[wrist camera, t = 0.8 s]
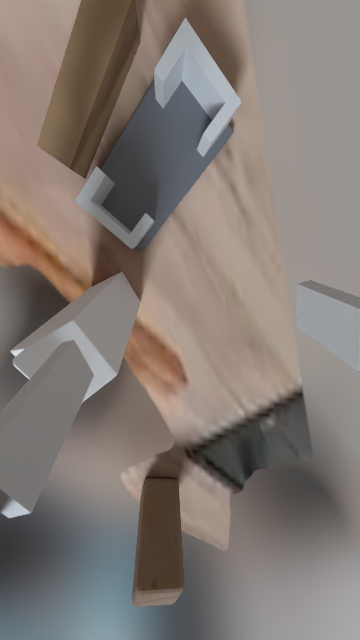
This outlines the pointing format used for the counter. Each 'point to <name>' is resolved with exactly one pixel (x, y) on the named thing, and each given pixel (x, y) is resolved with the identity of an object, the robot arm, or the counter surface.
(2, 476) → the robot arm
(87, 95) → the slat
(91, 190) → the endcap rail
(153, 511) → the wooden block
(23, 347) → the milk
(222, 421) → the counter surface
